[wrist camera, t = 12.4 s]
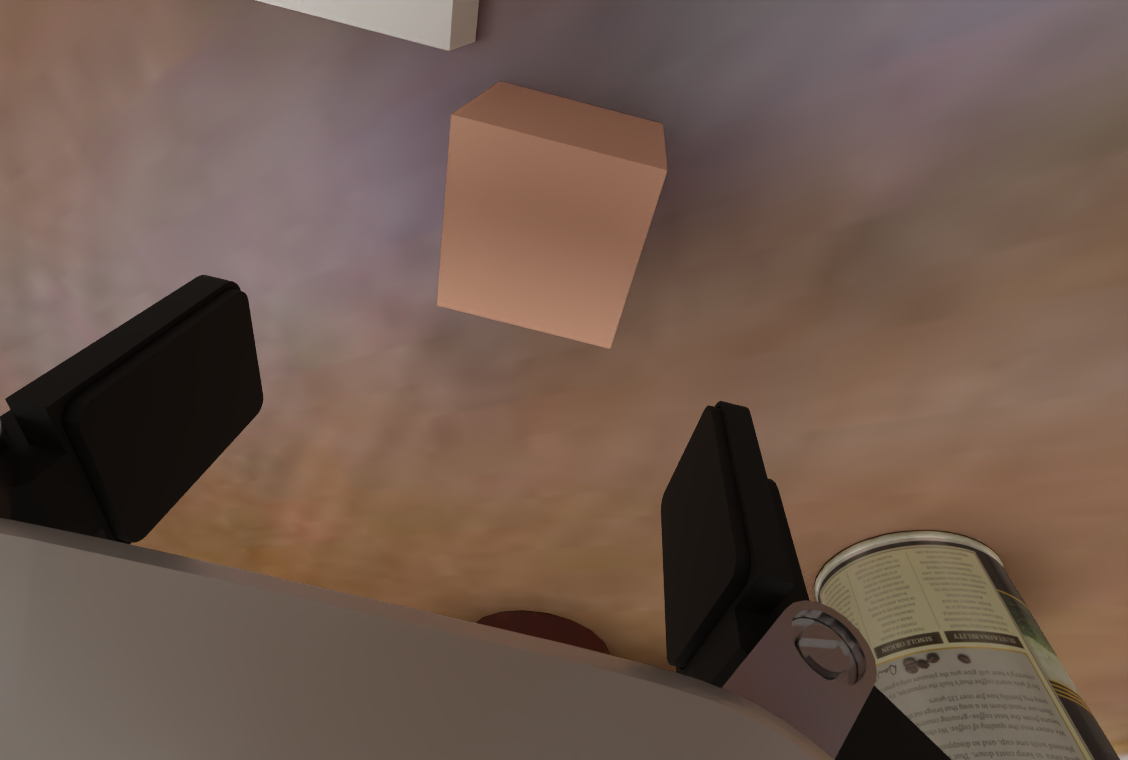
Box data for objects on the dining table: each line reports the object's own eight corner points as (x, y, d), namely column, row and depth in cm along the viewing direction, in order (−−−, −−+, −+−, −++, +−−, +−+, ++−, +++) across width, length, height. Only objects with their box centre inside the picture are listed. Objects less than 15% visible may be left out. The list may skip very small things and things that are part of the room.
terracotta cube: (500, 80, 19) (451, 114, 14) (663, 123, 19) (667, 170, 15) (481, 237, 23) (436, 305, 18) (618, 271, 23) (610, 348, 18)
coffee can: (1049, 561, 30) (1290, 911, 19) (919, 644, 36) (1042, 944, 25) (884, 506, 29) (1033, 839, 18) (780, 600, 35) (841, 892, 24)
